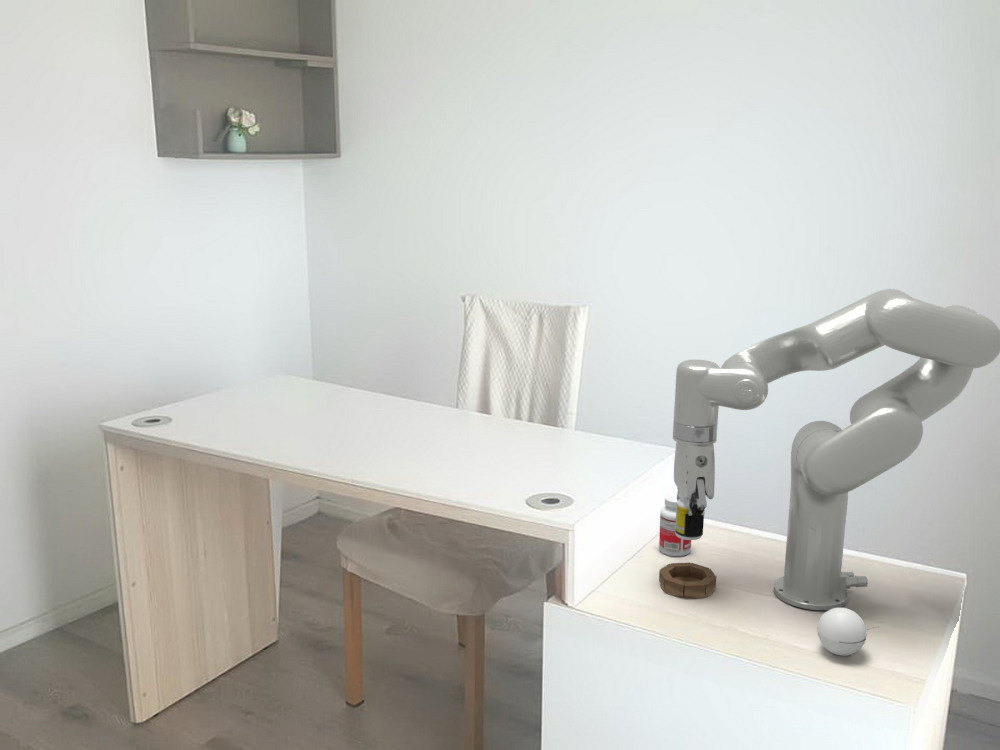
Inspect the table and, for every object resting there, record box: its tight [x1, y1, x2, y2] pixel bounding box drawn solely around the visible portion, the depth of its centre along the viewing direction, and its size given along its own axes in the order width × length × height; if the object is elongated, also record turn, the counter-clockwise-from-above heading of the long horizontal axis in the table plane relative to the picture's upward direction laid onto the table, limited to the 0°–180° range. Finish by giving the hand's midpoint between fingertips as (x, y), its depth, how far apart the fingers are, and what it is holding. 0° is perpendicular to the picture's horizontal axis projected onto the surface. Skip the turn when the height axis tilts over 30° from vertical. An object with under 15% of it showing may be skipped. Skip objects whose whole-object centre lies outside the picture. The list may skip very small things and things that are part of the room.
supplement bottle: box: [675, 491, 702, 541], centre depth 174 cm, size 5×5×8 cm
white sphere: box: [817, 607, 880, 656], centre depth 154 cm, size 10×7×7 cm
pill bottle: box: [658, 493, 692, 557], centre depth 192 cm, size 6×6×11 cm
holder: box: [658, 562, 717, 600], centre depth 177 cm, size 10×10×3 cm
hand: (689, 528), depth 175 cm, fingers closed on supplement bottle, 4 cm apart
